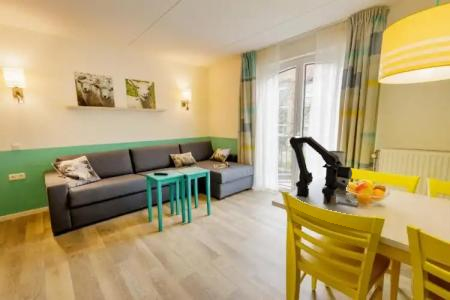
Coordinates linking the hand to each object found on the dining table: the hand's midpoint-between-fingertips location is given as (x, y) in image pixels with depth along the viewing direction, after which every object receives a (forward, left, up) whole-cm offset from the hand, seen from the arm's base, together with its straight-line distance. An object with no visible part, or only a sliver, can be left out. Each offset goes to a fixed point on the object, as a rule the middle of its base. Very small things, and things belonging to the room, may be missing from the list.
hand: (329, 200), depth 128 cm
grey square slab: (+9, +6, -1) cm, 11 cm away
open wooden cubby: (0, 0, -1) cm, 1 cm away
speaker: (-2, +37, -1) cm, 37 cm away
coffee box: (+3, +24, -1) cm, 24 cm away
